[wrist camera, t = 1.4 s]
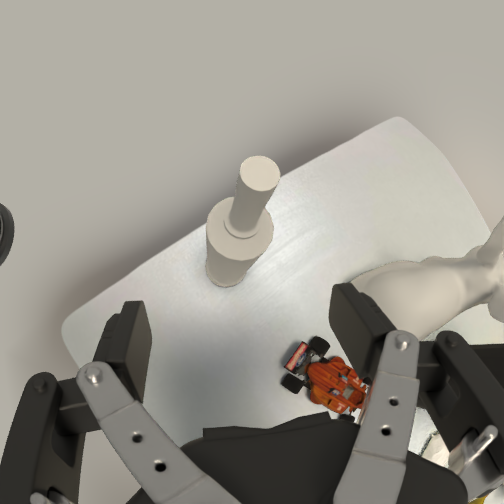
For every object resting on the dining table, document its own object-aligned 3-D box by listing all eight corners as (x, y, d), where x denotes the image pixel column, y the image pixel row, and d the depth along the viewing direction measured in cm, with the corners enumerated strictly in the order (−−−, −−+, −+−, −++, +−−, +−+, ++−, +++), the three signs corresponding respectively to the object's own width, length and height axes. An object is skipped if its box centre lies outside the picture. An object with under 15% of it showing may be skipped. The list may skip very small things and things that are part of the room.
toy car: (356, 431, 36) (371, 439, 31) (268, 376, 36) (276, 382, 32) (385, 387, 38) (402, 391, 34) (303, 327, 38) (314, 327, 34)
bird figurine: (420, 476, 36) (451, 433, 36) (432, 495, 29) (467, 448, 29) (401, 472, 36) (433, 427, 37) (412, 492, 30) (449, 444, 30)
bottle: (253, 267, 39) (328, 176, 15) (226, 296, 38) (265, 244, 14) (224, 240, 39) (255, 116, 15) (196, 268, 38) (185, 172, 14)
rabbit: (443, 315, 42) (568, 294, 18) (343, 362, 38) (489, 385, 14) (426, 251, 44) (544, 197, 20) (322, 283, 40) (457, 225, 16)
